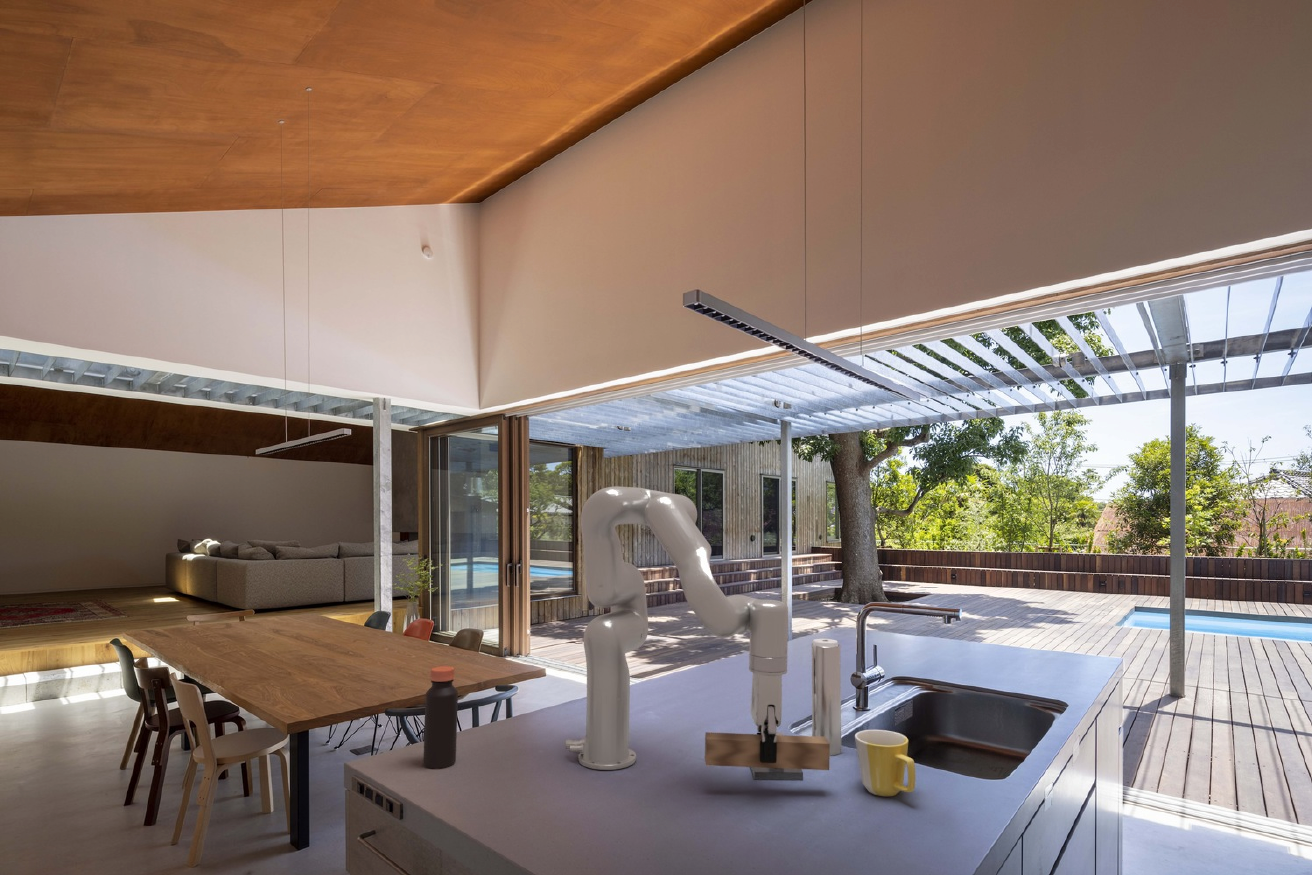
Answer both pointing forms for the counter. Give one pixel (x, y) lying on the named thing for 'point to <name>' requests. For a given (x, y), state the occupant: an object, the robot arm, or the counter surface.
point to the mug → (884, 762)
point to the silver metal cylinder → (826, 692)
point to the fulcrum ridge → (776, 772)
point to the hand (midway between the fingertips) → (766, 756)
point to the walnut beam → (747, 751)
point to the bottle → (440, 719)
